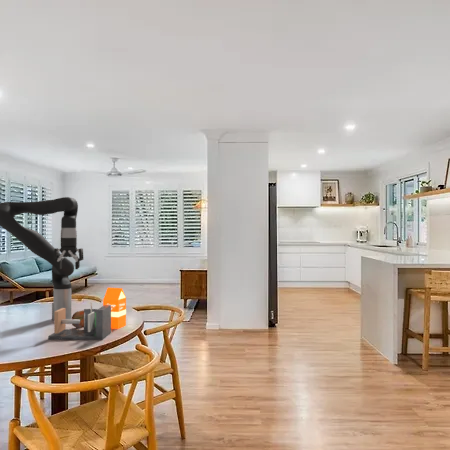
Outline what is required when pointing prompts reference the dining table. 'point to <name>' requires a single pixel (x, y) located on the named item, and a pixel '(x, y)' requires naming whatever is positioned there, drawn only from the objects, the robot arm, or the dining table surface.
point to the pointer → (91, 320)
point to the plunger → (62, 320)
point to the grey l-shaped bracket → (98, 333)
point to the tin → (79, 316)
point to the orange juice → (116, 306)
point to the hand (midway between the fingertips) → (68, 269)
